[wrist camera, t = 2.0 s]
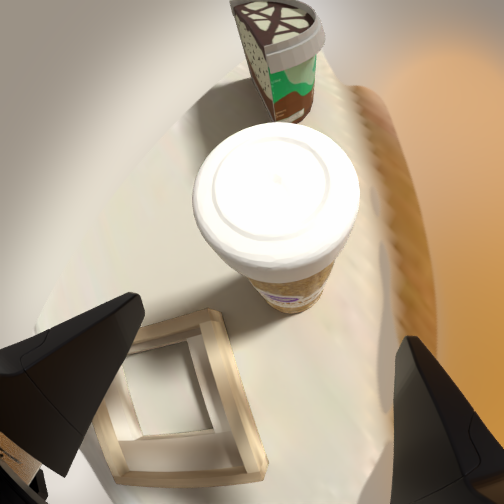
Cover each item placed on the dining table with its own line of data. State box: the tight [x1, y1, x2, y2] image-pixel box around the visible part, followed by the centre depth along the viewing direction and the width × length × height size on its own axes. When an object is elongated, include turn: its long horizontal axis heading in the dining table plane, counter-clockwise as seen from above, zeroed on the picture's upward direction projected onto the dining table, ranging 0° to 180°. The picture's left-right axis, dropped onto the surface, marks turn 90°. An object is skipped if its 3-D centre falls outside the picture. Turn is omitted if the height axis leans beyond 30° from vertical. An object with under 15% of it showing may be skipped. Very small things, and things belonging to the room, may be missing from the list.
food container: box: [230, 0, 325, 124], centre depth 20 cm, size 12×6×10 cm, turn 15°
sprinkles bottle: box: [192, 122, 360, 314], centre depth 13 cm, size 5×5×13 cm
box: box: [92, 308, 269, 488], centre depth 17 cm, size 12×12×3 cm
